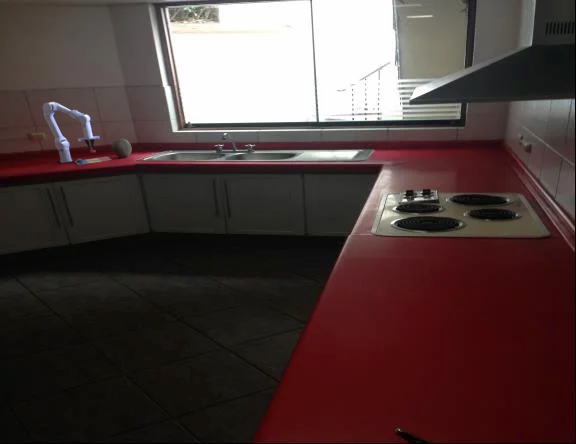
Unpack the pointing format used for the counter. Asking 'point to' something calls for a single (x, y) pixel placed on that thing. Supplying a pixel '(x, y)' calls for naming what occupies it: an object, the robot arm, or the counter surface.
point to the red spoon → (92, 150)
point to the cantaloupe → (121, 148)
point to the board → (93, 160)
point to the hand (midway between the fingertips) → (91, 149)
